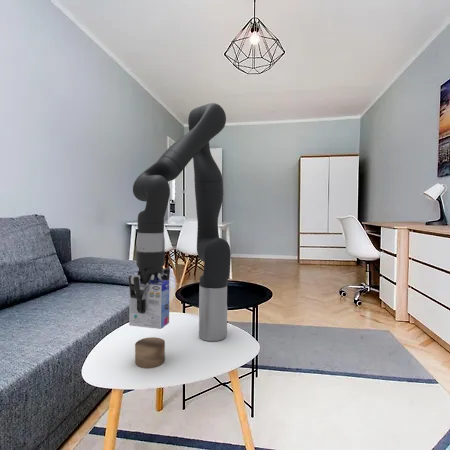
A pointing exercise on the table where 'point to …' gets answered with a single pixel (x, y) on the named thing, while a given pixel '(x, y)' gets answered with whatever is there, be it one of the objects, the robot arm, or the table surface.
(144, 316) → the ink cartridge box
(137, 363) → the walnut block
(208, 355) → the table surface
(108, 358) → the table surface
